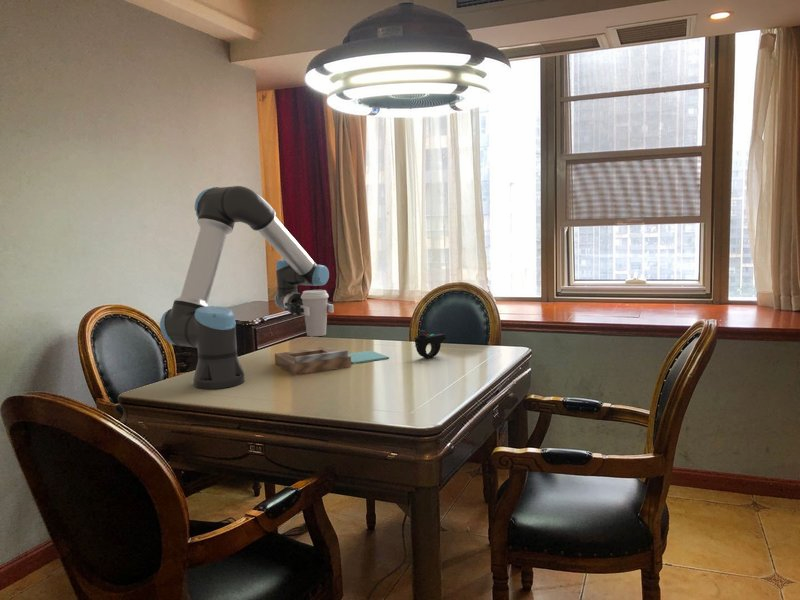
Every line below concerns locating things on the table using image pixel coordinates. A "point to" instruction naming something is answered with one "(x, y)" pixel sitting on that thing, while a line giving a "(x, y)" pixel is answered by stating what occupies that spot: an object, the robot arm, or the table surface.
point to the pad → (366, 356)
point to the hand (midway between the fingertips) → (320, 310)
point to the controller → (424, 340)
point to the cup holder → (313, 360)
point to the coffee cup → (315, 311)
